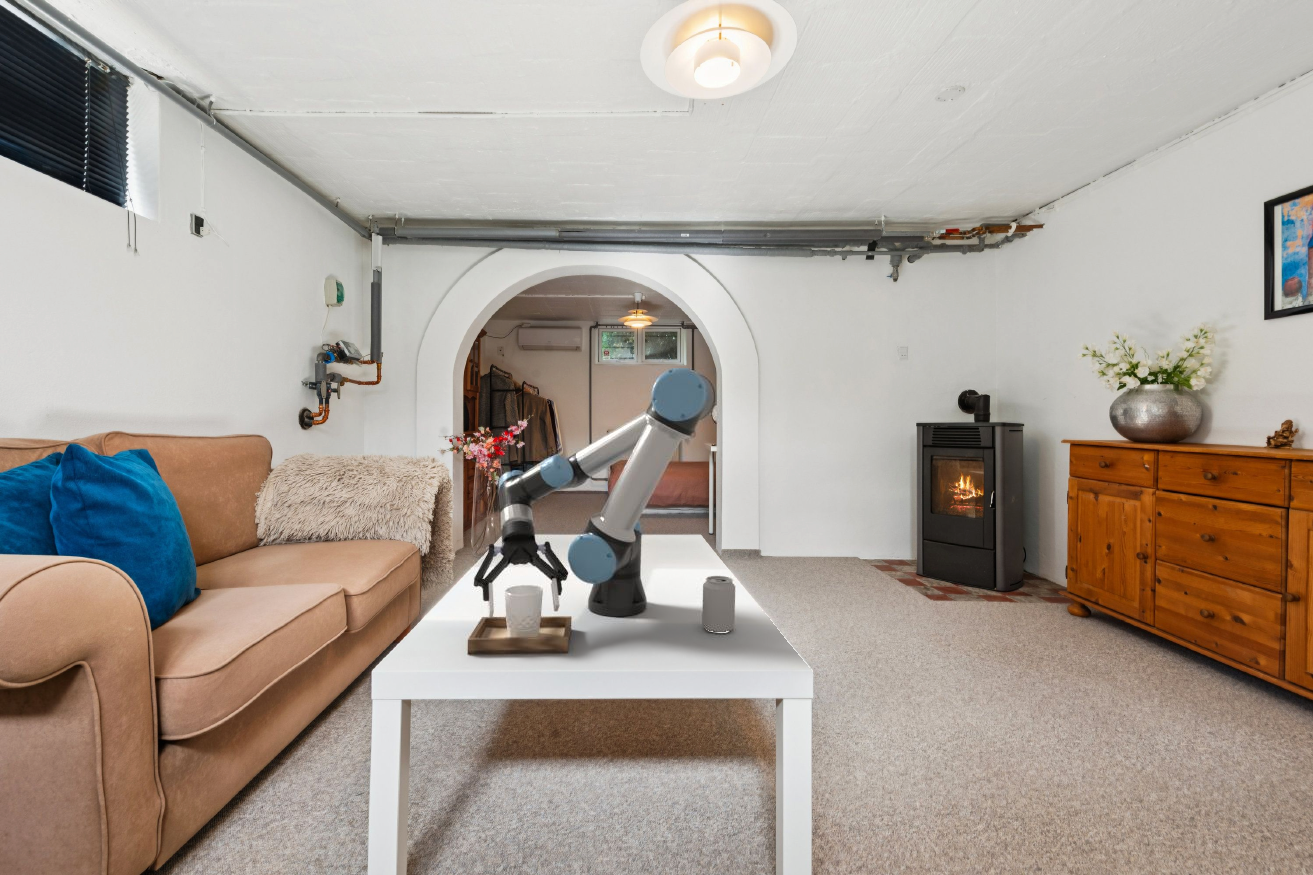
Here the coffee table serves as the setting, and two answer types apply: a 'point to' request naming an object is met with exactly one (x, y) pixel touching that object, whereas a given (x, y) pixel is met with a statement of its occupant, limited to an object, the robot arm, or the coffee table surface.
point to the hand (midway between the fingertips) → (524, 611)
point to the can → (718, 604)
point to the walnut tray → (495, 641)
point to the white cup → (523, 610)
